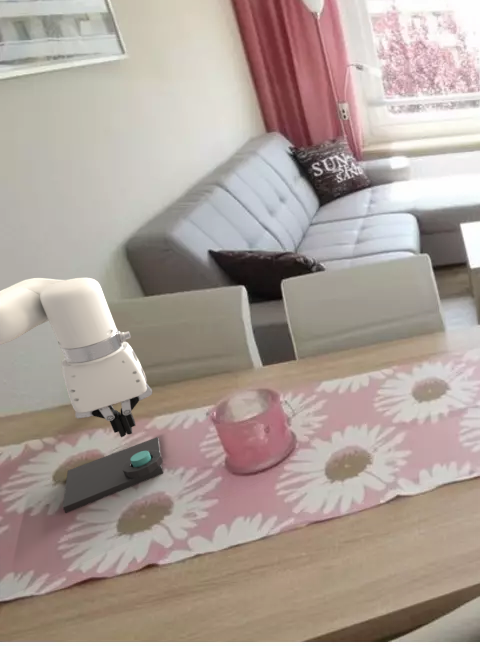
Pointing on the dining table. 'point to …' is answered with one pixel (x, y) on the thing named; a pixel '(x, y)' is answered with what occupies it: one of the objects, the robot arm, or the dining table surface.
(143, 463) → the power button
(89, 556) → the dining table surface
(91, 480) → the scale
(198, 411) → the dining table surface
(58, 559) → the dining table surface
